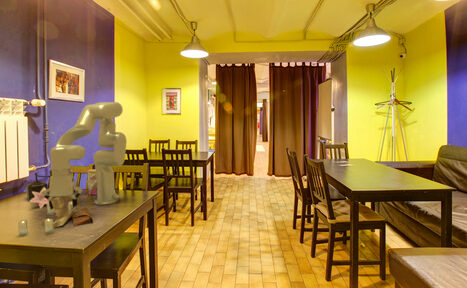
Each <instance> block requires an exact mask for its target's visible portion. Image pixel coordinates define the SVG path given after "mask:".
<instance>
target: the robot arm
mask: <svg viewBox="0 0 467 288" xmlns="http://www.w3.org/2000/svg"><path fill="white" fill-rule="evenodd" d="M123 112H124V111H123V105H122V104H121V103H119V102H118V101H105V102H96V103H94V104H87V105H85V106H84V107H83V108H82V110H81V112H80V114H79V117H78V118H77V120H76V122H75V125H74V126H72V127H71V128H69V130H67V131H66V132H65V133H63V134H62V135H61V136H60V137H59V139H58V140H57V142H56V144H55V146H54V147H52V148H51V149H50V155H49V156H50V166H51V167H50V168H51V169H50V170H52V176H51V177H49V188H48V189H47V190H45V191H43V192H42V194H43V195H44V197H45V198H46V199H47V200H48V201H49V207H50V209H53V208H54V207H53V205H52V202H51V200H50V199H52V198H54V197H60V196H62V197H71V198H72V199H71V201H72V204H73V207H75V208H76V207H77V206H78V198H79V197H80V196H81V194H82V192H83V189H82V188H81V187H78V186H76V182H75V178H74V174H72V173H74V171H75V170H74V169H71V161H80V160H81V159H83V158H84V157H85V156H86V155H87V154H86V149H85V148H84V147H83V145H79V144H73V143H74V142H77V140H80V139H81V138H84V137H87V136H88V135H90V134H92V132H93V130H94V128H95V125H96V124H97V121H99V124H100V125H99V135H98V145H99V147H101V148H104V149H100V150H98V151H96V152H95V153H94V154H93V157H92V158H93V163H94V167H95V170H96V179H97V195H96V196H97V197H96V198H97V199H95V200H94V204H95V205H99V206H102V205H111V204H115V203H116V202H118V201H119V199H123V195H122V194H117V192H116V191H115V172H114V170H113V168H112V167H120V166H122V165H123V164H124V162H125V159H126V152H127V151H126V150H127V137H126V135H125V133H123V132H121V131H120V132H119V131H118V132H117V131H116V123H115V121H114V118H117V117H120V116H121V115H122V114H123ZM105 148H106V149H105ZM76 191H77V194H76ZM47 192H48V194H47ZM49 195H50V196H49Z"/></svg>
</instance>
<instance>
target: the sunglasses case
mask: <svg viewBox="0 0 467 288" xmlns="http://www.w3.org/2000/svg"><path fill="white" fill-rule="evenodd" d="M70 218H71V220H72V227H73V228H74V227H79V226H80V227H81V226H84V225H90V224H93V223H94V220H93V217H92V216H91V213H90V212H89V210H88V209H87V207H83V208H81V209H80V210H79V211H77V212H75V213H74V214H73V215H72V216H71V217H70Z"/></svg>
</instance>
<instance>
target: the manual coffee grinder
mask: <svg viewBox="0 0 467 288" xmlns="http://www.w3.org/2000/svg"><path fill="white" fill-rule="evenodd" d="M51 176H52V169H50V170H49V175H38V172H35V173H34V177H35V180H34V181H32V182H30V183H25V186H26V188H25V189H26V199H27V201H28V202H30V200H31V199H33V198H34V197H35V196H34V194H33V193H32V192H37V193H40V191H41V190H42V189H43V188H44V187H45V188H46V190H47V189H49V188H48V183H47V182H46V181H41V180H39V179H38V177H39V178H50V177H51ZM47 194H48V195H49V192H47Z"/></svg>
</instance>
